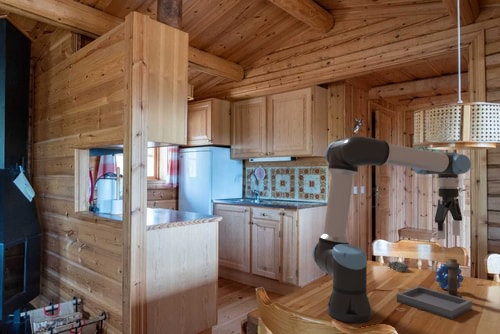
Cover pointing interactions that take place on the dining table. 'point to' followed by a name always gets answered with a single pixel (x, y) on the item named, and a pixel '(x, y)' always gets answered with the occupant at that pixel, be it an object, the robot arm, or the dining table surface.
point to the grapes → (446, 277)
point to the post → (452, 277)
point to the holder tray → (435, 302)
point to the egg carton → (398, 264)
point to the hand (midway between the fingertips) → (449, 237)
